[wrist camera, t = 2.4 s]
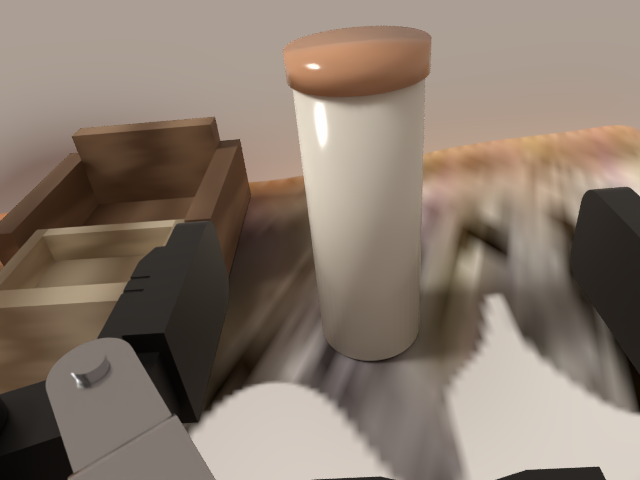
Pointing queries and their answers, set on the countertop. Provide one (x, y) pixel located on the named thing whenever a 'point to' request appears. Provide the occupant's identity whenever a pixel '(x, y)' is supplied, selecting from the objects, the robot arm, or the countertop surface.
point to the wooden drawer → (65, 292)
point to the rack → (139, 183)
